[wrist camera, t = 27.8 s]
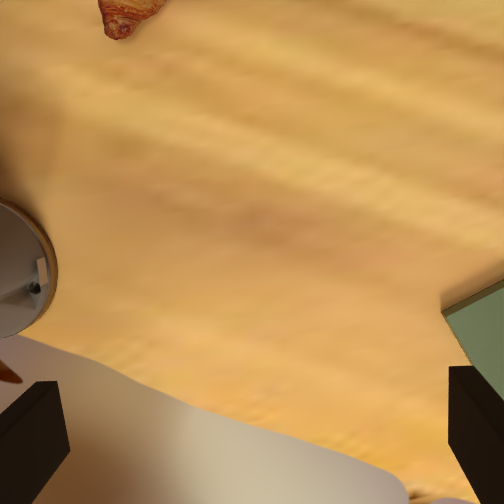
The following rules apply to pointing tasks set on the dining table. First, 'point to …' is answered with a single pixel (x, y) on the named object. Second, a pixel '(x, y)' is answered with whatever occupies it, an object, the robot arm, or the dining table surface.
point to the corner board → (482, 332)
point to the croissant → (126, 15)
